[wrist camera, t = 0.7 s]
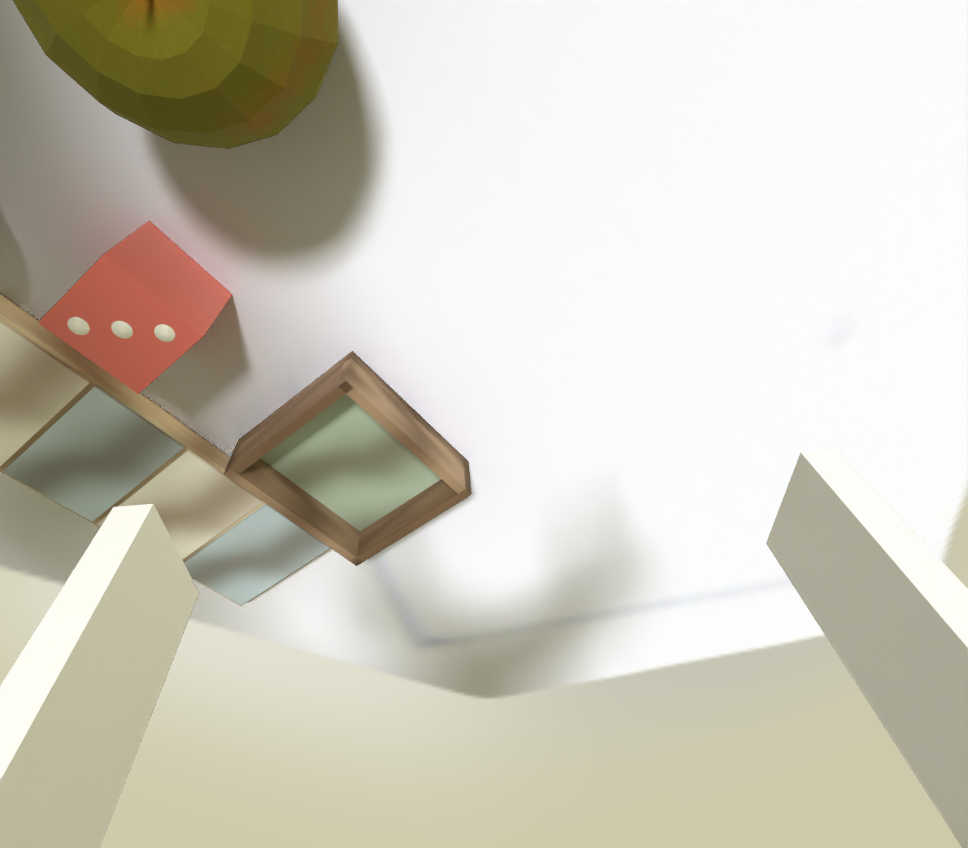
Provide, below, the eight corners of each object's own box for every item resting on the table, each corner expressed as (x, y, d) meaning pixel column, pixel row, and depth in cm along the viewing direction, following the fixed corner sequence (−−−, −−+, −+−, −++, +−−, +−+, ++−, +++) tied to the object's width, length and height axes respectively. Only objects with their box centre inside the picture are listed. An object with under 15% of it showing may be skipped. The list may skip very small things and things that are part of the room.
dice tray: (238, 440, 36) (223, 474, 34) (352, 351, 33) (345, 380, 31) (361, 530, 42) (356, 565, 39) (468, 461, 39) (471, 494, 36)
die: (90, 280, 30) (37, 322, 26) (149, 220, 28) (103, 254, 24) (174, 346, 32) (138, 394, 28) (232, 294, 31) (203, 336, 27)
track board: (-97, 396, 33) (-115, 410, 31) (-2, 292, 30) (-19, 303, 28) (245, 593, 45) (240, 608, 44) (336, 533, 42) (334, 547, 41)
